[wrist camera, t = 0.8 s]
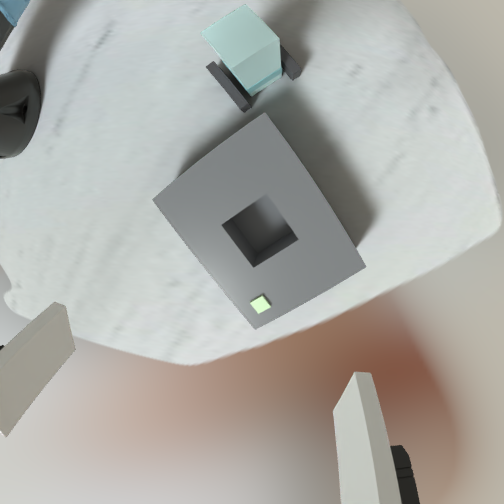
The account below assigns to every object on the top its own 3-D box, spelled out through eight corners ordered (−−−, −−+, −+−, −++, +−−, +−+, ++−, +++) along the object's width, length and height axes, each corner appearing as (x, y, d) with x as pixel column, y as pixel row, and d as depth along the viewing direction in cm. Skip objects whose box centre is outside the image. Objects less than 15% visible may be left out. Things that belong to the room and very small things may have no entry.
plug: (229, 70, 27) (199, 32, 16) (259, 50, 26) (245, 3, 15) (251, 97, 28) (231, 69, 17) (282, 77, 27) (280, 38, 16)
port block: (170, 191, 33) (150, 200, 28) (267, 117, 28) (264, 111, 24) (259, 307, 37) (254, 331, 32) (355, 249, 33) (367, 267, 28)
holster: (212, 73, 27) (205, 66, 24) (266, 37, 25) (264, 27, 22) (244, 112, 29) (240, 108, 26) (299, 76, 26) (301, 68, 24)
